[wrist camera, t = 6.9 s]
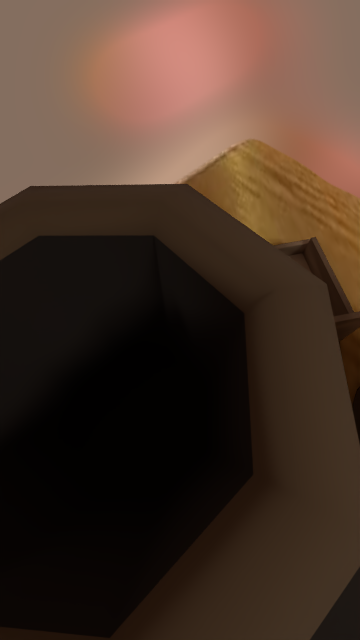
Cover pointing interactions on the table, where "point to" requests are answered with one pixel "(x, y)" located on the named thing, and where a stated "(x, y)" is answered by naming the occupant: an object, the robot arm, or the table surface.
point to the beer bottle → (167, 424)
